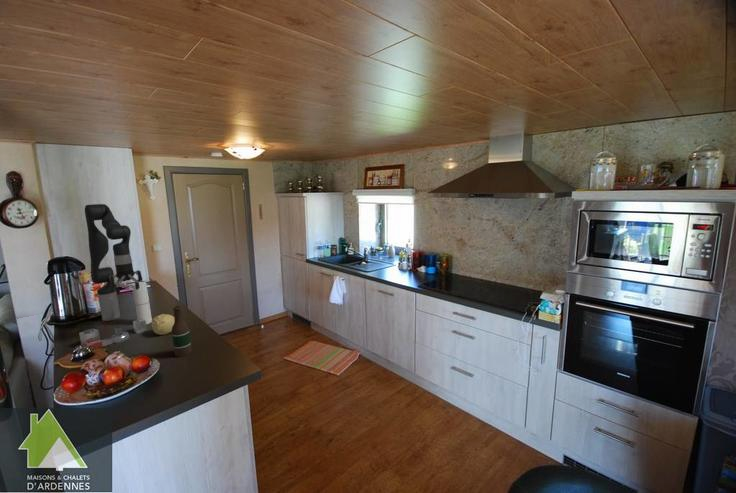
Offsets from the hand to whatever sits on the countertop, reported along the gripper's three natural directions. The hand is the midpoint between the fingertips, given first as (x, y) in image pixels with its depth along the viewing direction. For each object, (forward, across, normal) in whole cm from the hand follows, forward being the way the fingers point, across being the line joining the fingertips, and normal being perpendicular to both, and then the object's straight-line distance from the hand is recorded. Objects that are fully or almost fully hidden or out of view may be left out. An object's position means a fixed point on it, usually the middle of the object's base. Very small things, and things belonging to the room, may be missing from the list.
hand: (128, 291), depth 182 cm
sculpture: (+26, -12, +11) cm, 30 cm away
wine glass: (+26, +14, +1) cm, 29 cm away
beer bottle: (+25, -8, +46) cm, 53 cm away
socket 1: (+26, +18, -7) cm, 32 cm away
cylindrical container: (+26, -10, -16) cm, 32 cm away
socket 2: (+26, -4, -4) cm, 26 cm away
